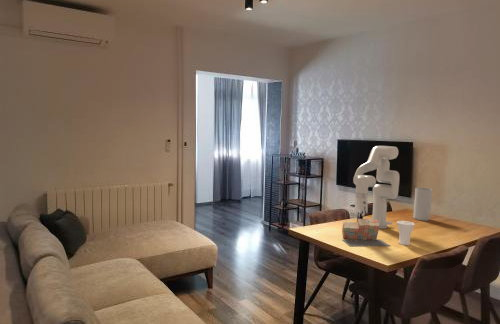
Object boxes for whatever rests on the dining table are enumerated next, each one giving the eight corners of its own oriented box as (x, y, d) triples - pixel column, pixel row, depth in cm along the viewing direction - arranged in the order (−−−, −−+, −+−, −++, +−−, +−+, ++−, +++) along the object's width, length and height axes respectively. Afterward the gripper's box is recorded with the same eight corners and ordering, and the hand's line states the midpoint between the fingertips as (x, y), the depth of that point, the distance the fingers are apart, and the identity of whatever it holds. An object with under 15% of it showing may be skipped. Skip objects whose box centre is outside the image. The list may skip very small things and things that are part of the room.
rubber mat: (379, 239, 240) (379, 239, 240) (390, 246, 227) (390, 245, 227) (341, 239, 236) (341, 239, 236) (350, 246, 223) (350, 246, 223)
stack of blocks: (342, 238, 239) (344, 224, 233) (341, 232, 245) (343, 217, 238) (376, 240, 237) (379, 225, 231) (374, 233, 242) (377, 219, 236)
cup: (415, 246, 227) (416, 225, 226) (397, 245, 229) (398, 224, 227) (410, 241, 237) (412, 221, 236) (393, 240, 239) (395, 220, 238)
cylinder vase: (411, 219, 300) (414, 188, 298) (414, 216, 311) (417, 187, 308) (428, 221, 293) (431, 190, 291) (431, 218, 304) (433, 189, 301)
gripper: (372, 197, 232) (370, 226, 233) (362, 193, 246) (360, 220, 248) (360, 197, 231) (359, 226, 232) (351, 193, 245) (349, 220, 247)
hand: (359, 222), depth 240 cm, fingers closed
